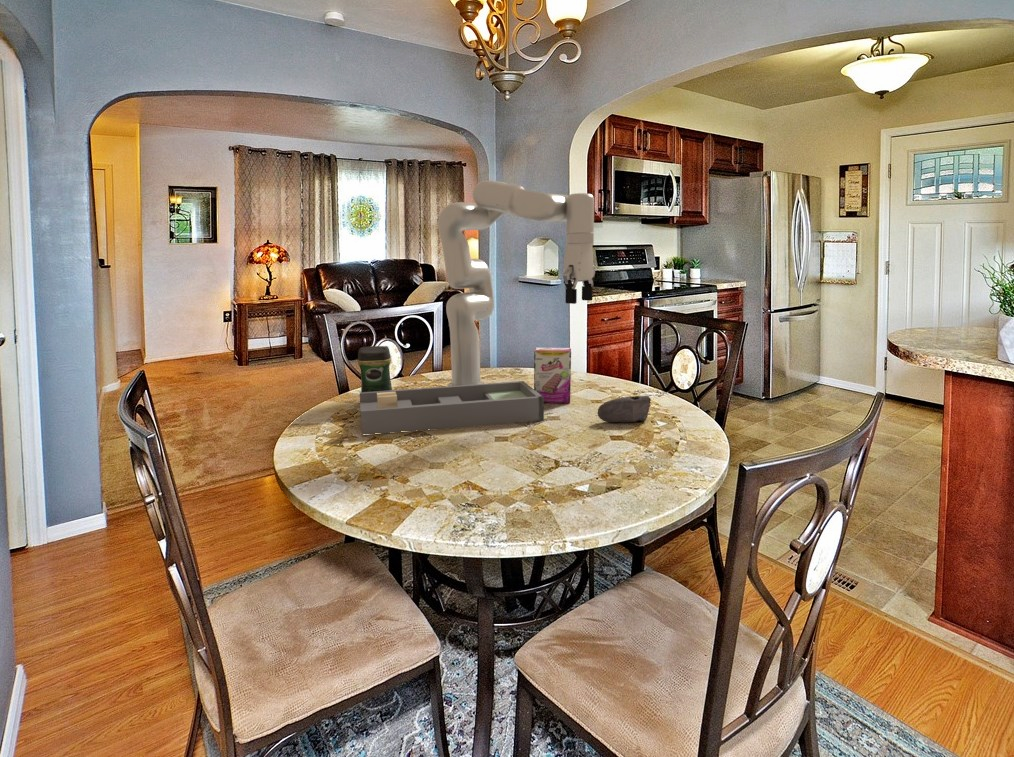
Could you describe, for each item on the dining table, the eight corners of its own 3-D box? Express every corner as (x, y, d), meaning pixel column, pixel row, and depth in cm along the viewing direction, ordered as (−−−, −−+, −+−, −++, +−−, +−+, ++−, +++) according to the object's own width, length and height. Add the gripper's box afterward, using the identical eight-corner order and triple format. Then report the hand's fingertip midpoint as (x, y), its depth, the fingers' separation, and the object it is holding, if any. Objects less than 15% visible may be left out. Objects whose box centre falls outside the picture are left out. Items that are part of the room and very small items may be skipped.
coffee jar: (395, 403, 190) (391, 343, 186) (392, 410, 183) (389, 348, 179) (363, 404, 190) (359, 344, 185) (359, 411, 182) (355, 349, 178)
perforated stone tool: (599, 425, 164) (599, 400, 163) (595, 420, 170) (595, 395, 168) (654, 423, 166) (655, 398, 164) (648, 418, 171) (649, 393, 169)
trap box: (361, 414, 179) (359, 392, 177) (523, 401, 190) (523, 380, 188) (362, 436, 159) (360, 411, 157) (543, 420, 170) (543, 397, 169)
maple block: (377, 410, 167) (376, 392, 166) (396, 409, 168) (395, 391, 167) (378, 415, 162) (377, 397, 161) (398, 414, 163) (397, 395, 162)
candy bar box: (533, 403, 188) (533, 350, 184) (534, 399, 192) (534, 347, 189) (570, 403, 186) (571, 350, 183) (570, 399, 191) (571, 347, 188)
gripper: (582, 239, 181) (581, 298, 185) (552, 240, 167) (552, 304, 171) (605, 239, 177) (604, 299, 181) (577, 240, 163) (576, 305, 167)
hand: (579, 301), depth 176 cm, fingers open, 9 cm apart
